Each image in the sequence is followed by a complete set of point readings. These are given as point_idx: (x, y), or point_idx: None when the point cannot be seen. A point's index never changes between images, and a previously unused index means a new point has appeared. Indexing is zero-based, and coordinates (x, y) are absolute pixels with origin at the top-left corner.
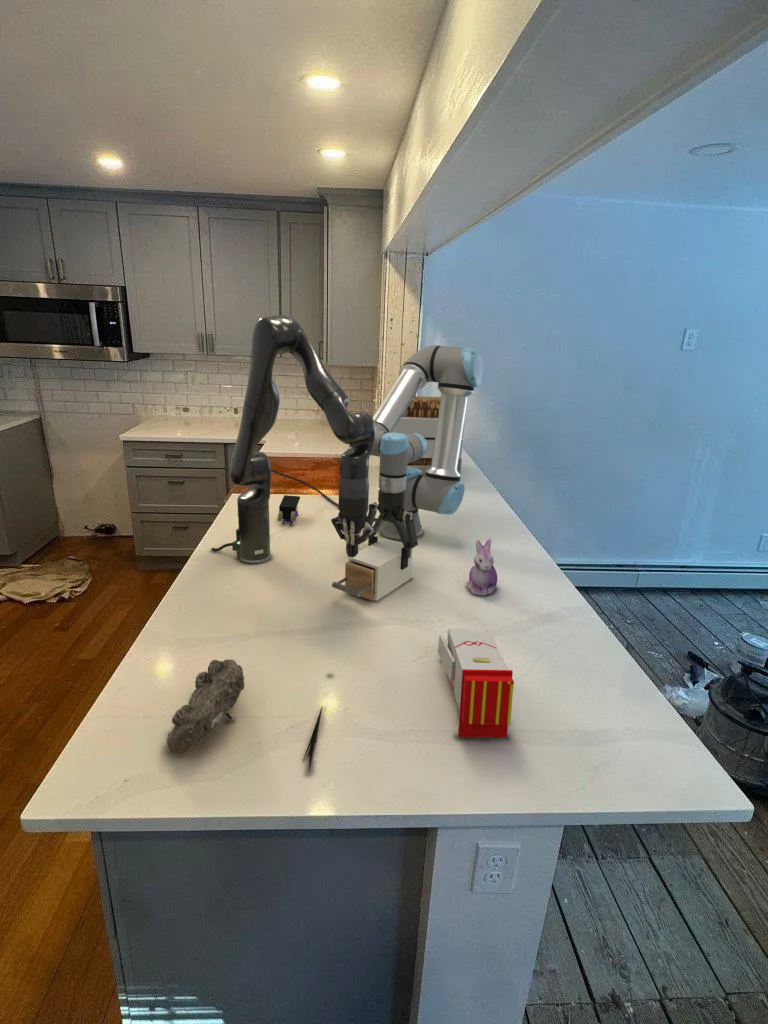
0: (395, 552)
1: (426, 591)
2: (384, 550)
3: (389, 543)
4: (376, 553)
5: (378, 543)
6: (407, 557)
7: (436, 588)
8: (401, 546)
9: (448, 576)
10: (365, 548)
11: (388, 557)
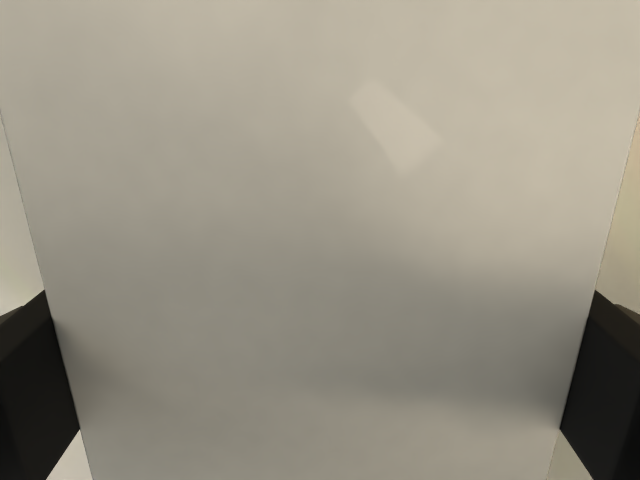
0: (126, 285)
1: (22, 234)
2: (302, 242)
3: (385, 463)
4: (337, 41)
5: (517, 386)
6: (4, 317)
7: (11, 304)
8: (206, 477)
9: (73, 455)
10: (623, 104)
11: (56, 34)
